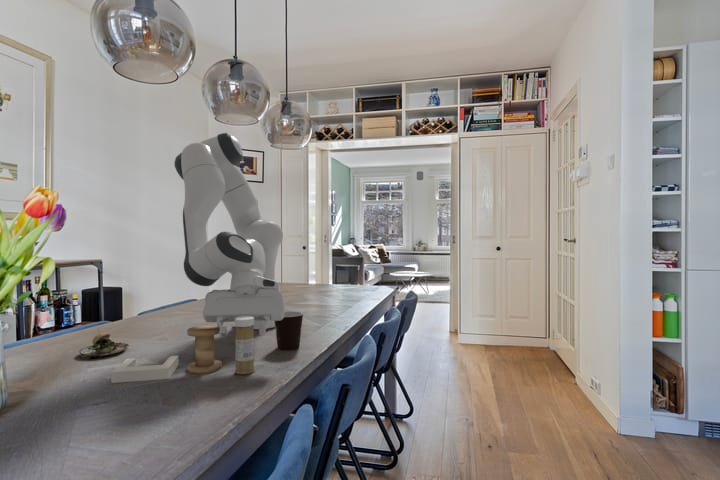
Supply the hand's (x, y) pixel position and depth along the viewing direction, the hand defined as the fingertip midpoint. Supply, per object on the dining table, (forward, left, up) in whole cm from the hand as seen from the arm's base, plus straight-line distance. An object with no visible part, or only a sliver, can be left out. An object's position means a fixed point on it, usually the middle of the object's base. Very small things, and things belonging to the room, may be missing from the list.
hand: (242, 334), depth 97 cm
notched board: (-3, -22, -9) cm, 24 cm away
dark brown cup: (-20, +13, -9) cm, 25 cm away
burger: (-24, -39, -10) cm, 47 cm away
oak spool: (-4, -9, -9) cm, 14 cm away
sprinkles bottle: (+1, +1, -9) cm, 9 cm away
